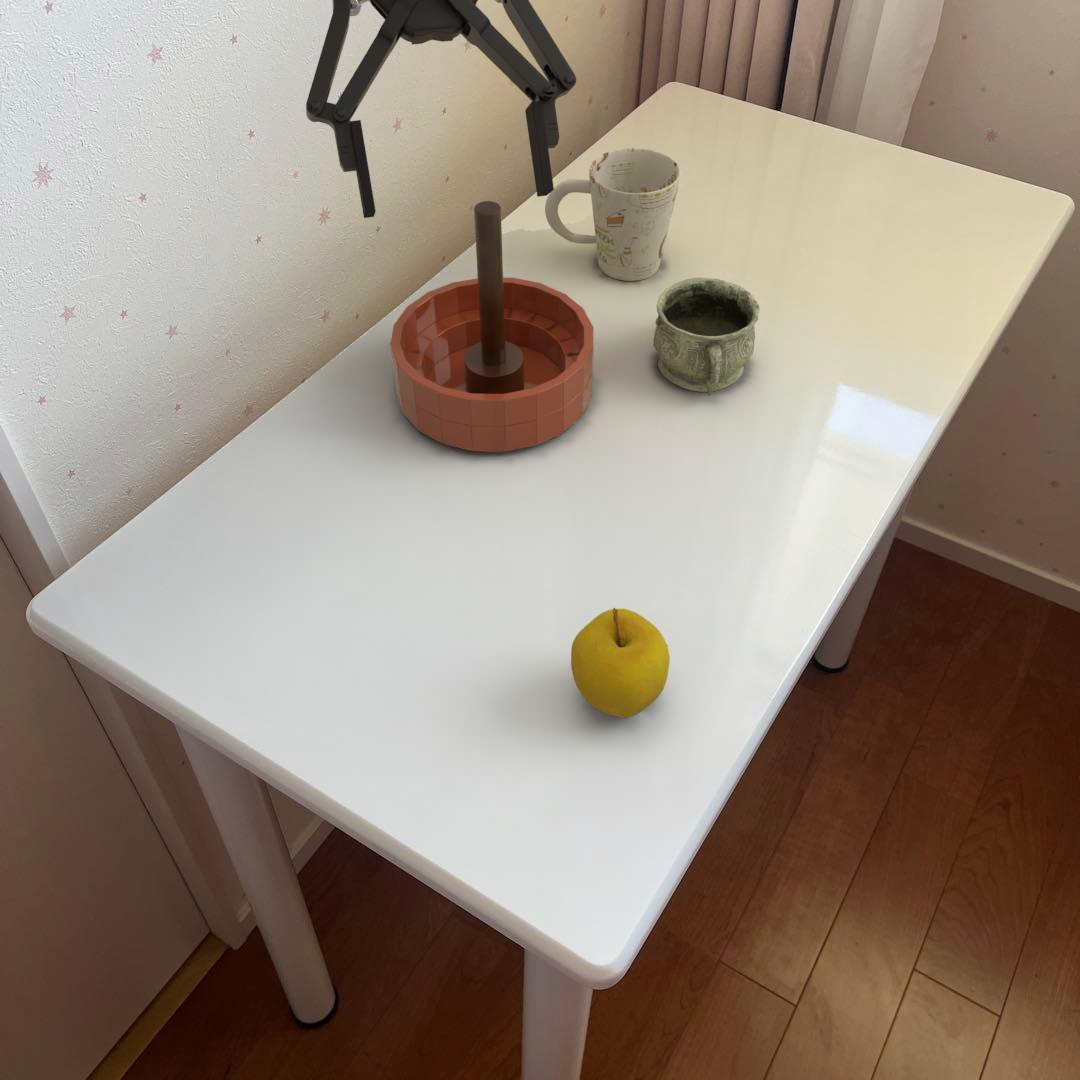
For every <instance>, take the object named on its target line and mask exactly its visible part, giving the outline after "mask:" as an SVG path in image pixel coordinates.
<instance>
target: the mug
mask: <svg viewBox="0 0 1080 1080" xmlns="http://www.w3.org/2000/svg"><path fill="white" fill-rule="evenodd" d="M588 173H589V175H588V179H581V178H580V179H579V178H577V179H576V178H575V179H574V178H573V179H566V180H563V181H561V182H559V183H558V184H557V185H556V186H555V187H554V190H553V191H552V192H550V193H549V194H548V195H547V198H546V200H545V205H544V213H545V214H544V215H545V219H546V220H547V223H548V225H549V226H550V228H551V229H552V230H553V231H554V232H555V233H556V234H557V235H558V236H560V237H561V238H563V239H564V240H566V241H568V242H571V243H574V244H580V245H581V244H582V245H584V244H585V245H591V244H592V245H593V244H596V245H595V246H596V255H597V262H598V267H599V269H600V270H601V271H602V272H603V273H604V274H605V275H607V276H608V277H610V278H612V279H615V280H617V281H624V282H625V281H626V282H637V281H642V280H645V279H648V278H650V277H652V276H654V275H655V274H656V273H657V272H658V270H659V269H660V265H661V262H662V259H663V253H664V249H665V245H666V240H667V237H668V233H669V228H670V223H671V220H672V215H673V211H674V207H675V203H676V198H677V194H678V191H679V185H680V182H681V181H680V180H681V169H680V166H679V164H678V163H677V162H676V161H675V160H674V159H673V158H672V157H670V156H669V155H667V154H664V153H662V152H660V151H657V150H653V149H648V148H643V147H642V148H641V147H625V148H618V149H613V150H610V151H606V152H604V153H602V154H600V155H599V156H598V157H596V158H595V159H594V160H593V161H592V162H591V164H590V166H589V171H588ZM572 193H573V194H574V193H578V194H579V193H580V194H589V195H590V199H591V206H592V216H593V225H594V234H595V235H591V234H582V233H581V234H579V233H574V232H572V231H571V230H569V229H568V228H567V226H566V225H564V223H563V222H562V219H561V218H560V215H559V205H560V203H561V201H563V199H564V198H565V197H566V196H567V195H569V194H572Z"/></svg>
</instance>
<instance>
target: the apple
mask: <svg viewBox="0 0 1080 1080" xmlns="http://www.w3.org/2000/svg"><path fill="white" fill-rule="evenodd" d="M570 649H571V650H570V666H571V673H572V677H573V680H574V683H575V685H576V688H577V689H578V691H579V693H580V694H581V696H582V697H583V699H584V700H585V701H586V702H587V703H588V704H589V705H590V706H591V707H593V708H595V709H597V710H599V711H601V712H602V713H604V714H606V715H611V716H615V717H619V718H631V717H634V716H636V715H638V714H641V713H642V712H644V711H645V710H647V709H648V708H649V707H650V706H651V705H652V704H653V703H654V702H655V701H657V699H658V698H659V696H660V695H661V693H662V692H663V691H664V688H665V685H666V683H667V681H668V675H669V669H670V660H671V659H670V658H671V655H670V652H669V645H668V644H667V642H666V639H665V638H664V636H663V634H662V633H661V632H660V630H659V629H658V628H657V627H656V626H655V625H654V624H653V623H652V622H651V621H649V620H648V619H646V618H645V617H644V616H642V615H640V614H639V613H637V612H635V611H633V610H631V609H627V608H615V607H613V608H611V609H608V610H605V611H603V612H601V613H600V614H598V615H597V616H596V617H594V618H592V620H591V621H589V622H588V623H587V624H586V625H585V626H584V627H583V628H581V630H579V632H578V633H577V634H576V636H575V637H574V639H573V641H572V645H571V648H570Z"/></svg>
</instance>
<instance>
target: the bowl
mask: <svg viewBox="0 0 1080 1080" xmlns="http://www.w3.org/2000/svg"><path fill="white" fill-rule="evenodd" d="M503 288H504V319H505V341H507V342H510V343H512V344H514V345H516V346H517V347H518V348H519V349H520V350H521V351H522V353H523V356H524V389H523V390H521V391H516V392H511V393H505V394H473V393H468V392H467V390H466V380H465V365H464V356H465V354H466V352H467V350H468V349H469V348H471V347H472V346H473V345H475V344H477V343H480V342H481V330H480V311H479V293H478V277H475V278H471V279H464V280H460V281H454V282H451V283H447V284H444V285H443V286H440V287H438V288H437V287H436V288H435V289H431V290H429V291H427V292H426V293H424V294H423V295H421V296H420V297H418V298H417V299H416V300H414V301H413V302H411V303H410V304H409V305H407V306H406V307H405V309H404V310H403V311H402V312H401V314H400V315H399V317H398V318H397V319H396V321H394V324H393V327H392V331H391V332H392V333H391V337H390V341H389V343H390V344H389V345H390V352H391V353H390V354H391V361H392V368H393V369H392V370H393V377H394V384H395V392H396V396H397V400H398V404H399V406H400V409H401V413H402V414H403V416H404V417H405V418H406V420H408V421H409V422H410V423H411V424H412V425H413V426H414V428H415V429H416V430H417V431H418V432H420V433H422V434H424V435H425V436H428V437H430V438H431V439H433V440H434V441H437V442H439V443H441V444H443V445H446V446H450V447H454V448H459V449H463V450H466V451H471V452H501V453H502V452H503V453H504V452H510V451H514V450H520V449H525V448H530V447H534V446H538V445H540V444H543V443H545V442H547V441H549V440H551V439H553V438H556V437H558V436H560V435H562V434H564V433H565V432H566V431H567V430H568V429H569V428H570V427H572V426H573V425H575V423H576V422H577V421H578V420H580V418H582V416H583V415H584V413H585V410H586V408H587V407H588V405H589V402H590V401H591V399H592V394H593V393H592V392H593V369H594V346H595V345H594V326H593V323H592V322H591V320H590V318H589V316H588V315H587V312H586V311H585V308H583V307H582V306H581V305H579V304H578V303H577V302H576V301H575V300H573V298H571V297H570V296H569V295H567V294H566V293H564V292H561V291H560V290H557V289H555V288H552V287H550V286H548V285H545V284H543V283H542V282H537V281H532V280H527V279H522V278H518V277H506V276H505V277H504V276H503Z"/></svg>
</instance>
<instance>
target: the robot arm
mask: <svg viewBox="0 0 1080 1080" xmlns="http://www.w3.org/2000/svg"><path fill="white" fill-rule="evenodd" d="M331 1H332V2H331V3H332V15H331V17H330V21H329V25H328V28H327V32H326V35H325V39H324V42H323V45H322V49H321V52H320V56H319V59H318V61H317V66H316V69H315V71H314V75H313V79H312V82H311V86H310V89H309V92H308V96H307V99H306V102H305V109H306V110H305V113H306V118H307V119H308V120H309V121H310V122H312V123H322V124H325V125H328V126H329V127H330V128H331V129H332V130H333V133H334V138H335V139H334V140H335V144H336V151H337V156H338V162H339V167H340V169H341V170H342V172H343V173H350V172H355V173H356V174H355V175H356V180H357V185H358V189H359V190H358V191H359V198H360V202H361V209H362V216H363V218H364V219H368V218H375V215H376V212H377V211H376V206H375V205H376V204H375V199H374V193H373V186H372V182H371V181H372V180H371V174H370V169H369V163H368V157H367V151H366V144H365V139H364V133H363V127H362V120H361V119H358V120H352V118H353V117H354V115H355V113H356V111H357V109H358V108H359V106H360V105H361V103H362V101H363V100H364V98H365V96H366V94H367V93H368V91H369V89H370V88H371V87H372V84H373V83H374V81H375V79H376V78H377V76H378V74H379V72H380V71H381V69H382V68H383V66H384V65H385V62H386V61H387V59H388V58H389V56H390V55H391V53H392V52H393V50H394V48H395V47H396V45H397V44H398V42H399V40H400V39H403V40H405V41H406V42H409V43H411V45H421V44H425V43H428V42H429V41H437V42H441V43H442V42H452V41H454V39H455V38H457V37H458V36H460V35H461V36H462V37H463V38H464V39H465V40H466V41H467V42H468V43H470V44H471V45H472V46H475V47H476V48H477V49H478V50H479V51H480V52H481V53H483V55H484V56H486V58H487V59H489V61H491V62H492V63H493V65H494V66H496V67H497V68H498V69H499V71H500V72H502V73H503V74H504V76H506V77H507V78H508V79H509V80H510V81H511V82H512V83H513V84H514V85H515V86H516V87H517V88H518V89H519V90H520V91H521V92H522V93H523V94H524V95H525V96H526V97H527V98H528V99H529V100H530V103H529V104H528V106H527V107H526V108H525V110H524V112H525V120H526V126H527V133H528V140H529V147H530V155H531V161H532V168H533V169H532V170H533V176H534V182H535V183H534V184H535V189H536V196H537V198H539V197H546V196H547V197H548V196H549V194H550V192H552V191H553V190H554V188H555V187H554V179H553V173H552V166H551V159H550V152H549V151H550V150H549V149H554V148H556V147H557V145H559V141H560V131H559V130H560V129H559V124H558V123H559V122H558V116H557V110H556V102H557V101H556V100H557V99H559V98H561V97H565V96H567V95H568V93H569V92H570V91H571V90H572V89H573V88H574V87H575V86H576V85H577V75H576V74H575V72H574V70H573V69H572V68H571V66H570V65H569V63H568V61H567V59H566V57H565V56H564V55H563V53H562V52H561V50H560V48H559V47H558V45H557V43H556V42H555V40H554V39H553V37H552V35H551V34H550V32H549V31H548V29H547V28H546V25H545V24H544V22H543V21H542V20H541V18H540V16H539V14H538V13H537V12H536V9H535V8H534V6H533V4H532V3H531V2H530V0H494V1H495V2H496V3H498V4H502V7H503V9H504V12H505V13H506V15H507V17H508V19H509V21H510V22H511V24H512V25H513V27H514V28H515V30H516V31H517V33H518V34H519V36H520V38H521V39H522V41H523V43H524V44H525V46H526V47H527V49H528V50H529V52H530V54H531V55H532V57H533V59H534V60H535V62H536V63H537V65H538V66H539V68H540V70H541V71H542V72H540V71H539V70H538V69H537V68H536V67H535V66H534V65H533V64H532V63H531V62H530V61H529V60H528V59H527V58H526V57H525V56H524V55H523V53H521V52H520V51H519V50H518V49H517V48H516V47H515V46H514V45H513V44H512V43H511V42H510V41H509V40H508V39H507V38H506V37H505V36H504V35H503V34H502V33H501V32H500V31H499V30H498V29H497V28H496V27H495V26H494V25H493V24H492V23H491V20H490V19H489V17H488V16H487V15H486V14H485V13H484V12H483V11H482V10H481V9H480V8H479V7H478V6H477V3H478V1H479V0H331ZM367 2H369V3H370V5H371V6H372V7H373V8H374V9H375V10H376V12H378V14H379V15H380V16H381V17H382V19H384V21H383V22H382V24H381V26H380V28H379V30H378V32H377V33H376V36H375V38H374V39H373V41H372V43H371V44H370V46H369V47H368V49H367V51H366V53H365V54H364V56H363V58H362V59H361V61H360V63H359V64H358V66H357V68H356V69H355V71H354V72H353V75H352V76H351V78H350V80H349V82H348V83H347V85H346V86H345V88H344V89H343V92H342V93H341V94H340V96H339V98H338V100H337V101H336V103H332V102H329V96H330V92H331V89H332V86H333V83H334V80H335V76H336V72H337V69H338V66H339V62H340V59H341V57H342V52H343V48H344V46H345V43H346V39H347V35H348V32H349V27H350V21H351V20H350V19H351V17H356V16H358V15H359V14H360V12H361V10H362V6H363V4H365V3H367ZM542 73H543V74H544V75H543V74H542Z"/></svg>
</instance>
